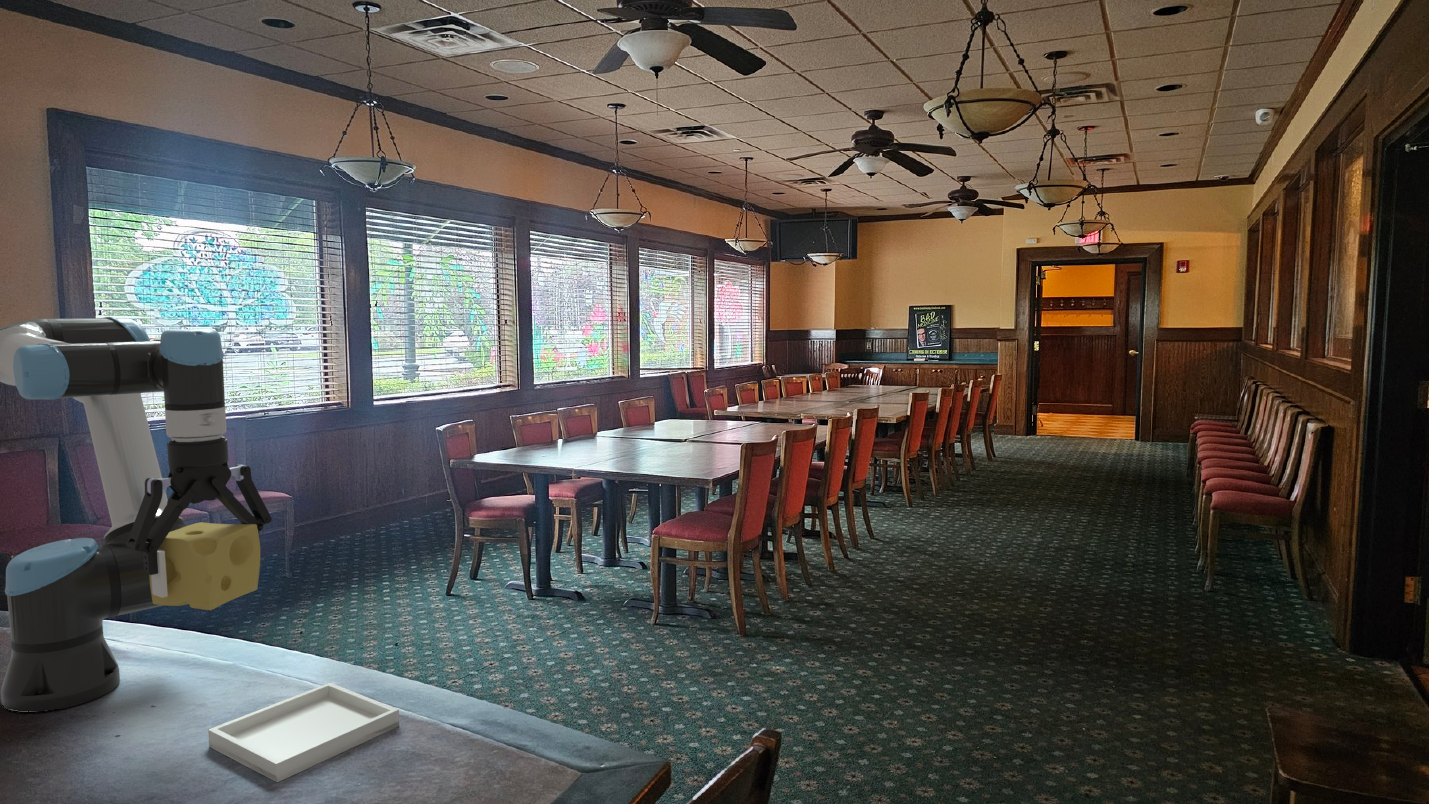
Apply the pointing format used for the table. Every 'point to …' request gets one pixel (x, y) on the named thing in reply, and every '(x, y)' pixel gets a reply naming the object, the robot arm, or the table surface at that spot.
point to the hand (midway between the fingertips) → (206, 583)
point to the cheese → (210, 564)
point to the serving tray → (302, 730)
